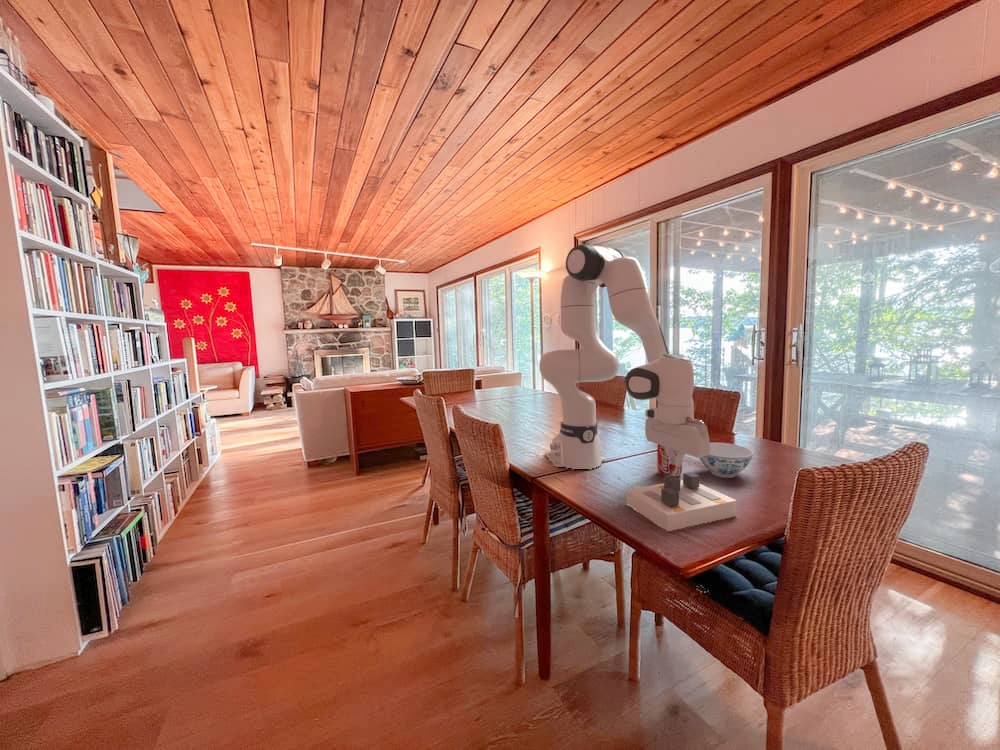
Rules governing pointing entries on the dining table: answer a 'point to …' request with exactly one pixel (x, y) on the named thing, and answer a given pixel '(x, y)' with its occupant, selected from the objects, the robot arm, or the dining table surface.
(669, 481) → the switch tab
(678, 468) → the soda can
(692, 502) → the switch panel
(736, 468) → the chinaware
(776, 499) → the dining table surface
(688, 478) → the switch tab
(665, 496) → the switch tab
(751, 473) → the dining table surface
